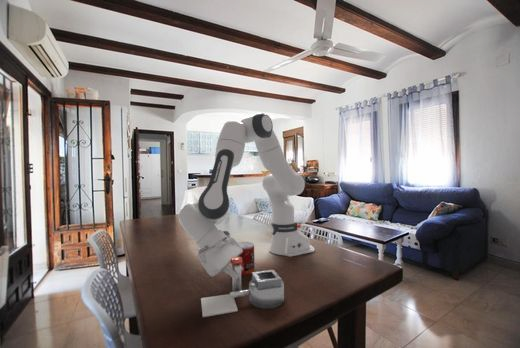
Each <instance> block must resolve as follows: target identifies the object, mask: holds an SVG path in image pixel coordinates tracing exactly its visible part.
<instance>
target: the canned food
mask: <svg viewBox="0 0 520 348" xmlns="http://www.w3.org/2000/svg"><path fill="white" fill-rule="evenodd" d="M238 244H239V245H240V246H241V248H242V250H243V252H242V253H241V254H240V255H239V256H238V257H241V258H242V264H241V266H242V268H243V270H242V271H241V276H249V275H252V272H255V244H254V243H253V242H249V241H240V242H238Z"/></svg>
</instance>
